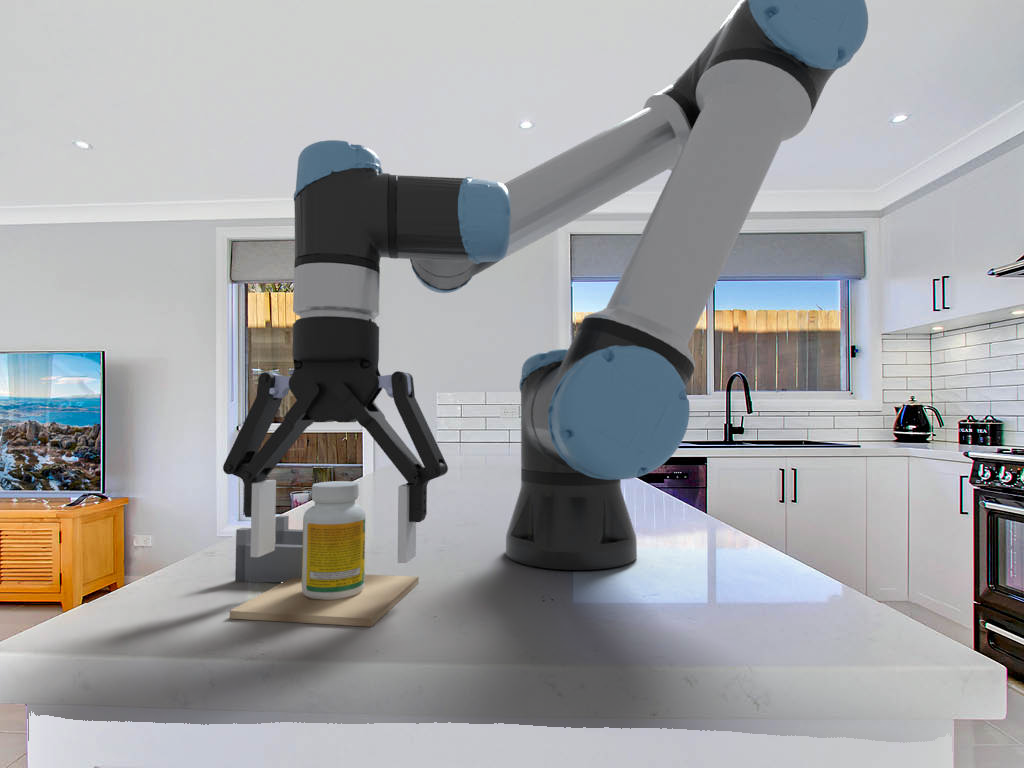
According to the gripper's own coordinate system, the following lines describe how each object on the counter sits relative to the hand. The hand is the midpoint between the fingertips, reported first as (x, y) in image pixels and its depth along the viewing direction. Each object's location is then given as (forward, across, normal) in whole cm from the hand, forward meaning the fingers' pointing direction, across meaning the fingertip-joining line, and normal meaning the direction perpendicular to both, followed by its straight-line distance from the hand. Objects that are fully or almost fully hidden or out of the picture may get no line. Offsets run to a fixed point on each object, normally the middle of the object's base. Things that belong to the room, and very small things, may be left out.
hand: (333, 556), depth 54 cm
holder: (+4, +8, -8) cm, 12 cm away
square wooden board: (+4, 0, 0) cm, 4 cm away
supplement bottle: (+3, 0, 0) cm, 3 cm away
